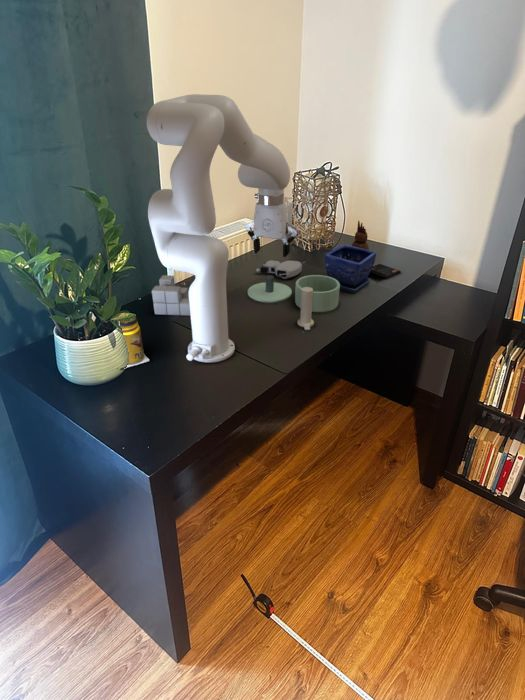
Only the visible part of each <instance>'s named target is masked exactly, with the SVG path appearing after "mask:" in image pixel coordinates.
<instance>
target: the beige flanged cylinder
mask: <svg viewBox="0 0 525 700" xmlns="http://www.w3.org/2000/svg"><path fill="white" fill-rule="evenodd" d="M312 296H313V289H312V288H310V287H303V288H302V289H301V308H300V317H299V319H297V321H296V322H297V323H296V324H297V325H298V326H299V327H302V328H304V331H311V327H313V326H314V325H315V321H314V319H312V315H313V313H312Z"/></svg>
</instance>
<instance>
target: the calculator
mask: <svg viewBox="0 0 525 700" xmlns="http://www.w3.org/2000/svg"><path fill="white" fill-rule="evenodd" d="M370 274H374V275H376V276H380V277H382V278H385V279H391V278H393V277H395V276H397V275H399V274H401V270H399V269H396V268H393V267H390V266H388V265H384V264H381V263H378V264H374V265H373V267H372V270H371V272H370Z"/></svg>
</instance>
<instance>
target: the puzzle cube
mask: <svg viewBox="0 0 525 700" xmlns="http://www.w3.org/2000/svg"><path fill="white" fill-rule="evenodd" d="M158 282H159V285H154V286H153V288H152V290H151V296H152V305H153V311H154V315H165V316H187V317H188V316H190V317H191V315H190V304H189V294H188V293H189V287H181V286H179V285H178V286H177V285H176V281H175V275H169V274H168V275H167V274H165V275H164V274H162V275H161V277H160V278H159V280H158Z"/></svg>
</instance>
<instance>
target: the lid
mask: <svg viewBox="0 0 525 700" xmlns="http://www.w3.org/2000/svg"><path fill="white" fill-rule="evenodd" d="M274 278H275V277H274V276H273V275H266V276H265V282H259V283H256V284H253V285H251V286H249V288H248V289H247V296H248V297H249V298H250V299H252V300H254V301H257V302H261V303H278V302H282V301H286V300H288V299H289V298H290V297H291V296H292V294H293V291H292V288H291V287H290V286H288V285H287V284H284V283H281V282H274V281H275V279H274Z"/></svg>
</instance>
